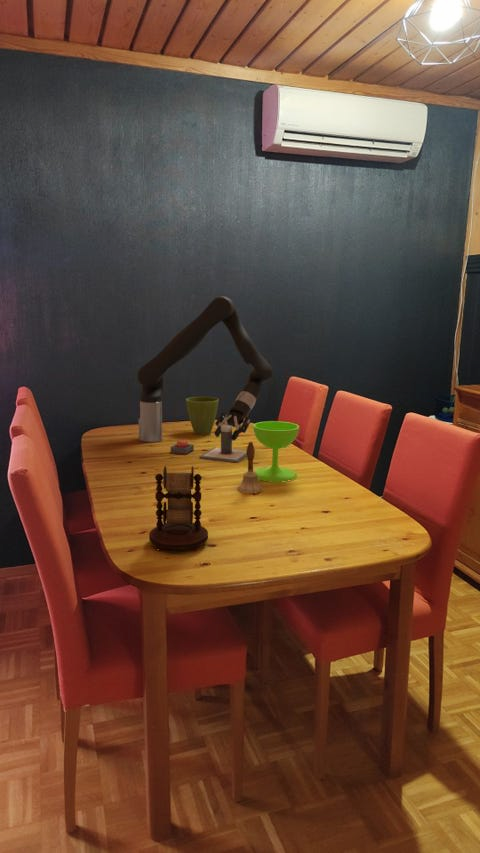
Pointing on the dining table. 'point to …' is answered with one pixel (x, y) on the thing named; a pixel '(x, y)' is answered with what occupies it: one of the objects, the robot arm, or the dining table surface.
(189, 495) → the scroll
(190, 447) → the button base
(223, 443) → the canister
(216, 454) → the board
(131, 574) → the dining table surface
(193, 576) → the dining table surface
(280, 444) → the wineglass
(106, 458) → the dining table surface
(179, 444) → the button
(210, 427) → the flower pot
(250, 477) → the hand bell
